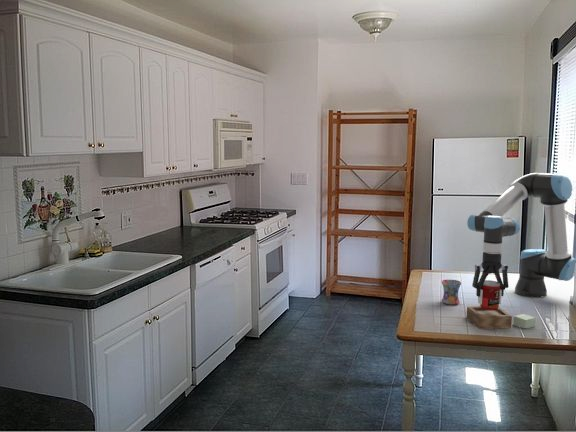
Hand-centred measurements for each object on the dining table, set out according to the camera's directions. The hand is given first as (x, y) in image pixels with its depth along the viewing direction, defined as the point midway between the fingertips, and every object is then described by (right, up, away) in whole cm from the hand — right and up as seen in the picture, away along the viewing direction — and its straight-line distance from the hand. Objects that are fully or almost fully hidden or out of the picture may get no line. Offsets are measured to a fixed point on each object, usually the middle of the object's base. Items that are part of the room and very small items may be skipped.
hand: (489, 303), depth 237 cm
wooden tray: (0, -9, +1) cm, 9 cm away
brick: (+14, -9, -2) cm, 17 cm away
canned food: (0, -2, 0) cm, 2 cm away
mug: (-7, -5, +31) cm, 32 cm away
